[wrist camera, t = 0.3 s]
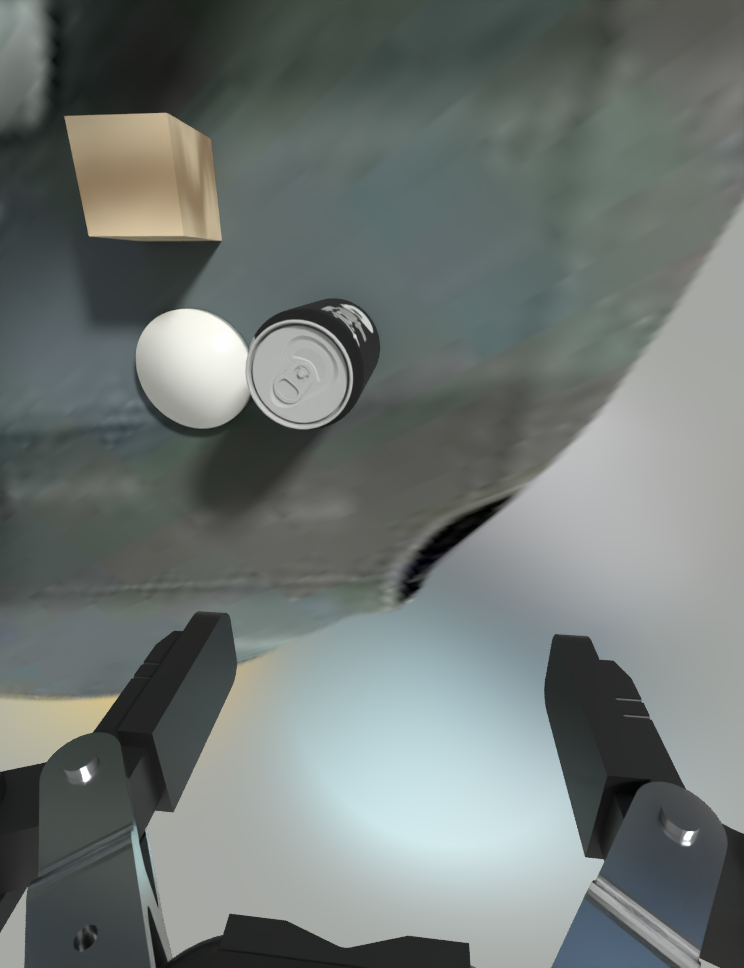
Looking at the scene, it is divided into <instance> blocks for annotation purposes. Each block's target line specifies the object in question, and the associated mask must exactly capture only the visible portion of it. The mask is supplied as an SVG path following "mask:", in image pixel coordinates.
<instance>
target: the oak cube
mask: <svg viewBox="0 0 744 968" xmlns="http://www.w3.org/2000/svg"><path fill="white" fill-rule="evenodd" d="M64 117H65V122H66V127H67V132H68V137H69V142H70V146H71V151H72V156H73V161H74V166H75V171H76V176H77V181H78V186H79V190H80V195H81V200H82V205H83V210H84V215H85V220H86V225H87V229H88V234H89V236H90V237H101V238H111V239H122V240H132V241H222V238H221V229H220V220H219V210H218V201H217V192H216V183H215V174H214V164H213V155H212V146H211V139H210V138H208V137H207V136H205V135H203V134H202V133H200V132H198V131H197V130H195V129H193V128H192V127H190V126H188V125H187V124H185V123H183V122H182V121H180V120H178V119H177V118H175V117H173V116H172V115H170V114H168V113H146V114H114V115H83V116H64Z"/></svg>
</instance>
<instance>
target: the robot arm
mask: <svg viewBox="0 0 744 968" xmlns="http://www.w3.org/2000/svg"><path fill="white" fill-rule="evenodd" d="M236 669H237V658H236V652H235V645H234V639H233V633H232V626H231V620H230V617H229V615H228V614H227V613H216V612H200V611H199V612H196V613H195V614H194V616H193V617H192V618H191V620H190V621H189V623H188V624H187V626H186V627H185V629H184V630H183V631H173V632H172V633H171V634H169V635H168V636H167V637H165V638H164V639H163V640H161V641H160V642H159V643H158V644H156V645H155V647H154V648H153V650H152V651H151V652H150V654H149V655H148V656H147V658H146V659H145V661H144V664H143V665H141V666H140V668H139V669H138V670H137V672H136V673H135V675H134V678H133V679H131V680H130V682H129V683H128V684H127V686H126V687H125V689H124V690H123V691H122V693H121V694H120V696H119V697H118V698H117V700H116V701H115V703H114V704H113V705H112V707H111V708H110V710H109V711H108V712H107V714H106V715H105V717H104V718H103V719H102V721H101V722H100V724H99V725H98V727H97V728H96V729H95V730H94V732H93V733H90V734H86V735H83V736H80V737H78V738H76V739H73V740H72V741H70V742H68V743H67V744H65V745H64V746H63V747H61V748H60V749H59V750H57V751H56V752H55V753H54V754H53V755H52V756H51V757H50V759H49V760H48V761H47V762H45V763H41V764H36V765H32V766H27V767H22V768H17V769H12V770H7V771H3V772H0V932H1V930H2V929H3V927H4V925H5V924H6V922H7V920H8V918H9V917H10V915H11V913H12V912H13V910H14V908H15V907H16V904H17V903H18V902H19V900H20V898H21V897H22V895H23V893H24V891H25V890H26V888H27V887H28V890H27V899H26V928H25V962H24V968H475V967H473V966H471V965H470V952H469V943H462V942H453V941H446V940H438V939H430V938H422V937H413V936H405V937H400V938H395V939H390V940H385V941H380V942H375V943H371V944H365V945H361V946H356V947H351V948H343V947H339V946H337V945H335V944H333V943H331V942H329V941H327V940H324V939H322V938H320V937H318V936H316V935H314V934H312V933H310V932H308V931H306V930H304V929H302V928H300V927H298V926H296V925H294V924H292V923H290V922H288V921H284V920H276V919H268V918H260V917H252V916H244V915H236V914H229V917H228V921H227V924H226V927H225V930H224V934H223V935H221V936H217V937H213V938H211V939H208V940H205V941H202V942H200V943H198V944H196V945H194V946H192V947H190V948H188V949H187V950H185V951H183V952H182V953H180V954H179V955H177V956H176V957H174V958H173V957H172V953H171V948H170V944H169V940H168V937H167V932H166V928H165V924H164V919H163V914H162V908H161V904H160V897H159V892H158V887H157V881H156V875H155V870H154V864H153V859H152V853H151V848H150V843H149V837H148V832H147V829H146V827H147V825H148V823H149V821H150V819H151V817H152V815H153V813H154V811H155V810H156V811H165V812H174V810H175V808H176V806H177V803H178V801H179V799H180V797H181V795H182V793H183V791H184V789H185V786H186V784H187V782H188V780H189V778H190V775H191V773H192V771H193V769H194V767H195V765H196V763H197V761H198V758H199V756H200V754H201V752H202V750H203V747H204V746H205V743H206V741H207V739H208V737H209V735H210V733H211V730H212V728H213V726H214V724H215V722H216V720H217V718H218V715H219V713H220V711H221V709H222V707H223V705H224V703H225V700H226V698H227V696H228V694H229V692H230V690H231V687H232V685H233V683H234V679H235V675H236ZM544 692H545V693H544V694H545V705H546V710H547V714H548V718H549V722H550V726H551V729H552V733H553V737H554V741H555V744H556V748H557V752H558V756H559V760H560V763H561V767H562V771H563V775H564V779H565V782H566V786H567V790H568V794H569V798H570V801H571V805H572V809H573V813H574V817H575V820H576V824H577V828H578V831H579V835H580V839H581V843H582V847H583V851H584V854H585V857H588V858H598V859H604V864H603V866H602V868H601V871H600V873H599V875H598V877H597V879H596V880H595V881H593V882H592V883H591V885H590V887H589V888H588V890H587V892H586V894H585V897H584V899H583V901H582V903H581V905H580V907H579V909H578V912H577V914H576V916H575V918H574V920H573V922H572V924H571V927H570V929H569V931H568V933H567V935H566V937H565V939H564V942H563V944H562V946H561V948H560V950H559V952H558V954H557V957H556V959H555V961H554V963H553V965H552V967H551V968H701V963H700V961H699V958H701V959H703V960H705V961H707V962H709V963H712V964H713V965H716V966H718V967H720V968H744V834H743V833H740V832H738V831H736V830H733V829H731V828H729V827H728V826H725V825H724V824H722V823H721V821H720V820H719V818H718V817H717V815H716V814H715V813H714V812H713V810H712V809H711V808H710V807H709V806H708V805H707V804H706V803H705V802H704V801H702V800H701V799H700V798H699V797H697V796H696V795H694V794H693V793H691V792H690V791H688V790H686V788H685V786H684V785H683V783H682V781H681V779H680V777H679V775H678V773H677V771H676V769H675V767H674V765H673V762H672V760H671V758H670V757H669V754H668V753H667V750H666V748H665V746H664V744H663V742H662V740H661V738H660V736H659V734H658V732H657V730H656V728H655V726H654V724H653V722H652V720H650V718H649V713H648V711H647V709H646V707H645V705H644V703H642V702H641V697H640V695H639V693H638V691H637V689H636V687H635V685H634V683H633V681H632V679H631V678H630V677H629V676H628V675H627V674H626V673H625V672H624V671H623V670H622V669H621V668H620V667H619V666H618V665H617V664H616V663H615V662H614V661H610V660H599V657H598V655H597V653H596V651H595V648H594V646H593V644H592V641H591V639H590V638H589V637H587V636H575V635H559V634H555V635H554V637H553V639H552V644H551V650H550V656H549V662H548V667H547V673H546V678H545V687H544Z"/></svg>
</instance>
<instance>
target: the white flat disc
mask: <svg viewBox="0 0 744 968" xmlns="http://www.w3.org/2000/svg"><path fill="white" fill-rule="evenodd" d="M248 351H249V349H248V347H247V345H246V343H245V341H244V340H243V338H242V337H241V336H240V334H239V333H238V332H237V331H236V330H235V329H234V327H232V326H231V325H230V324H229V323H228V322H227V321H225V320H224V319H222V318H221V317H219V316H217V315H215V314H213V313H210V312H208V311H205V310H200V309H192V308H188V309H178V310H173V311H169V312H166V313H164V314H161V315H160V316H158V317H156V318H155V319H154V320H153V321H151V322H150V323H149V324H148V326H147V327H146V328H145V329H144V331H143V333H142V334H141V337H140V339H139V342H138V345H137V350H136V368H137V373H138V377H139V380H140V383H141V386H142V388H143V390H144V391H145V393H146V395H147V396H148V398H149V399H150V401H151V402H152V403H153V404H154V406H155V407H156V408H157V409H158V410H159V411H160V412H162V413H163V414H164V415H165V416H167V417H168V418H170V419H171V420H173V421H175V422H177V423H179V424H182V425H185V426H188V427H192V428H201V429H202V428H213V427H217V426H220V425H222V424H224V423H226V422H228V421H230V420H231V419H233V418H234V417H235V416H236V415H238V414H239V413H240V412H241V411H242V410H243V409H244V407H245V406H246V405H247V403H248V401H249V399H250V397H251V394H250V392H249V389H248V386H247V381H246V373H245V368H246V360H247V356H248Z"/></svg>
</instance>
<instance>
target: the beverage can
mask: <svg viewBox="0 0 744 968" xmlns="http://www.w3.org/2000/svg"><path fill="white" fill-rule="evenodd" d="M379 353H380V342H379V336H378V332H377V329H376V327H375V325H374V323H373V321H372V320H371V318H370V317H369V316H368V314H367V313H366V312H365V311H364V310H362V309H361V308H360V307H358V306H357V305H355V304H353V303H351V302H349V301H346V300H342V299H325V300H321V301H317V302H314V303H310V304H307V305H304V306H300V307H297V308H293V309H290V310H286V311H283V312H281V313H278V314H276V315H275V316H273V317H271V318H270V319H269V320H267V321H266V322H265V323H264V324H263V325H262V326H261V327H260V328H259V329H258V331H257V332H256V334H255V335H254V338H253V340H252V342H251V345H250V348H249V351H248V356H247V360H246V368H245V373H246V381H247V386H248V389H249V392H250V394H251V396H252V398H253V400H254V401H255V403H256V404H257V406H258V407H259V408H260V409H261V411H262V412H263V413H264V414H265V415H267V416H268V417H269V418H271V419H272V420H273V421H275V422H277V423H279V424H281V425H283V426H286V427H289V428H294V429H316V428H322V427H326V426H329V425H331V424H333V423H335V422H337V421H339V420H340V419H342V418H343V417H344V416H346V415H347V414H348V413H349V412H350V411H351V409H352V408H353V407H354V405H355V404H356V402H357V401H358V399H359V397H360V395H361V393H362V391H363V389H364V387H365V386H366V384H367V382H368V380H369V378H370V376H371V374H372V373H373V371H374V369H375V367H376V365H377V362H378V358H379Z"/></svg>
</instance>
